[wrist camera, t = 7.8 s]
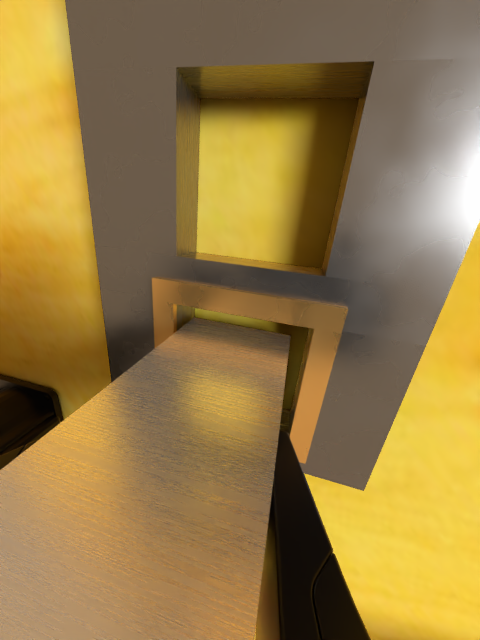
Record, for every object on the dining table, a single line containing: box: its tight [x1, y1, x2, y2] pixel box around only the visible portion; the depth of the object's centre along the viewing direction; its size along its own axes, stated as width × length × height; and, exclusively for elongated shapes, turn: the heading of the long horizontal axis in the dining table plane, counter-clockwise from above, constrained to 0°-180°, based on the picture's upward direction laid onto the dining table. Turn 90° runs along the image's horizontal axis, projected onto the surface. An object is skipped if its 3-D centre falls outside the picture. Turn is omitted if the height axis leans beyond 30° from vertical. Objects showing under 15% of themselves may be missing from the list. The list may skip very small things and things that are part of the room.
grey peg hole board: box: [65, 0, 480, 491], centre depth 9 cm, size 14×26×2 cm, turn 174°
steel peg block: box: [0, 318, 291, 640], centre depth 7 cm, size 4×4×10 cm
